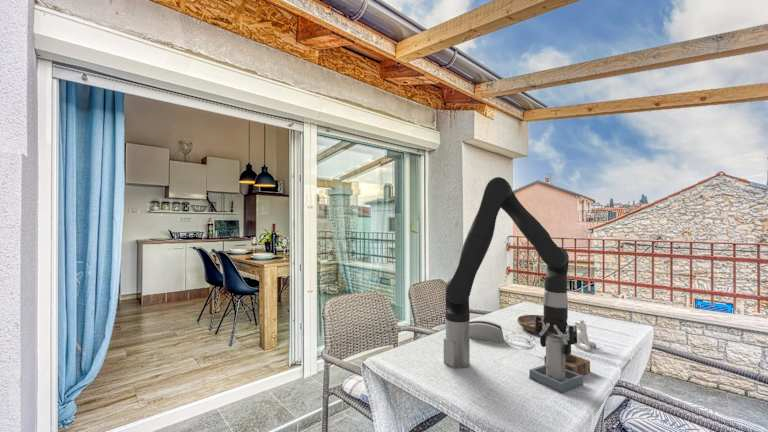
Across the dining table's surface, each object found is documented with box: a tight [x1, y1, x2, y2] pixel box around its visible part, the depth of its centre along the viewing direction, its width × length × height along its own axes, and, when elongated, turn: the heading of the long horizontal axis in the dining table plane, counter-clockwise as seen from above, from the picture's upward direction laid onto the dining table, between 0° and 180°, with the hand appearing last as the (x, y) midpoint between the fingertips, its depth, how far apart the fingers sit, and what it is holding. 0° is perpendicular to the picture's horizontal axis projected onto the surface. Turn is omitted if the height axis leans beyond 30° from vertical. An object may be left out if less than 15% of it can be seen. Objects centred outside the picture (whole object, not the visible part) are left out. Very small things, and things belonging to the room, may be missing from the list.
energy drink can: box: [545, 334, 565, 382], centre depth 116 cm, size 6×6×15 cm
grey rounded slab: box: [470, 319, 505, 343], centre depth 159 cm, size 17×5×10 cm, turn 63°
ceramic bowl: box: [516, 314, 555, 335], centre depth 172 cm, size 23×24×5 cm
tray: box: [528, 364, 584, 394], centre depth 116 cm, size 12×12×3 cm
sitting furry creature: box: [573, 319, 597, 353], centre depth 149 cm, size 10×9×12 cm
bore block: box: [544, 353, 591, 376], centre depth 126 cm, size 12×12×4 cm
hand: (555, 350), depth 116 cm, fingers open, 8 cm apart
